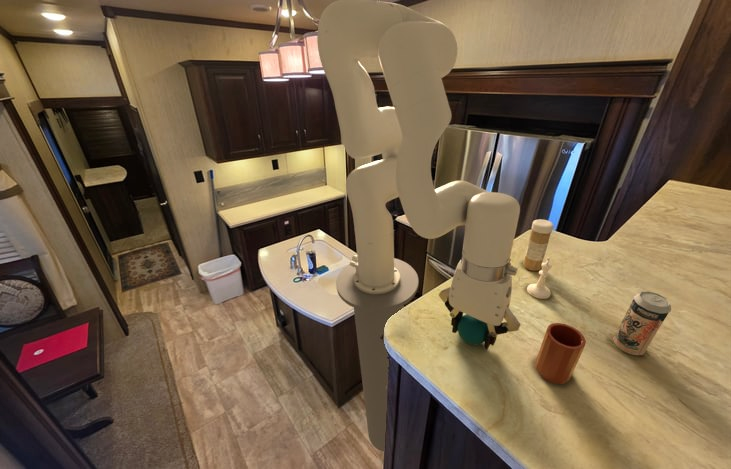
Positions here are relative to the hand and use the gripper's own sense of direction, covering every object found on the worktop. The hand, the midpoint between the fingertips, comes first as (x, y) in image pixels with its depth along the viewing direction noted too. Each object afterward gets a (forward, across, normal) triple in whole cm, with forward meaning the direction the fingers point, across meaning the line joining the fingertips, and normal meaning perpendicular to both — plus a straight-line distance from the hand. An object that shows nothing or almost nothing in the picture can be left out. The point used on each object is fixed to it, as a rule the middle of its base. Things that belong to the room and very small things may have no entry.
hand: (472, 335), depth 58 cm
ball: (+1, 0, 0) cm, 1 cm away
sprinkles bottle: (+1, -3, -33) cm, 33 cm away
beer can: (+1, -24, -16) cm, 29 cm away
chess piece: (+1, -7, -23) cm, 24 cm away
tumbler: (+1, -14, -2) cm, 14 cm away
